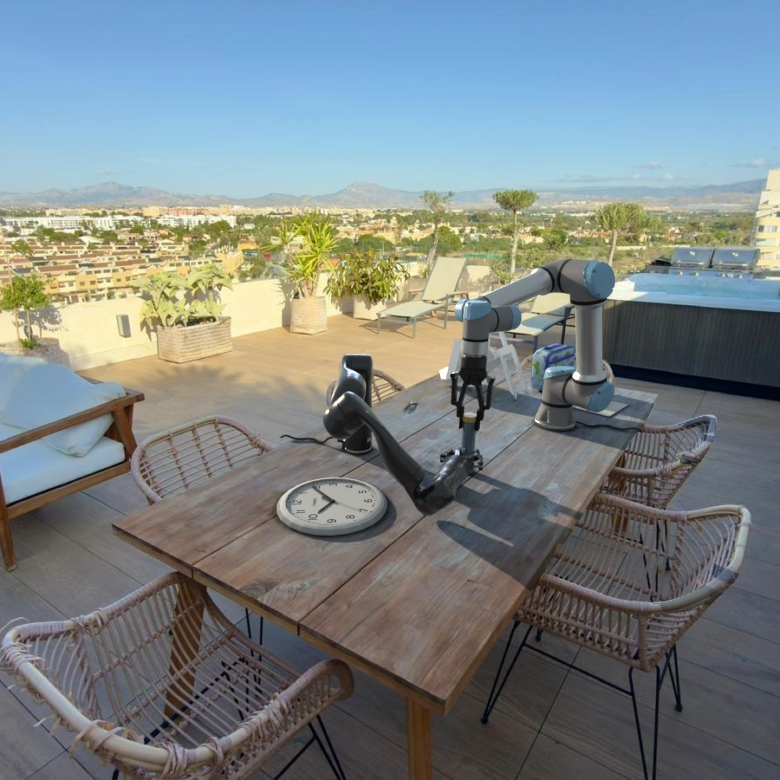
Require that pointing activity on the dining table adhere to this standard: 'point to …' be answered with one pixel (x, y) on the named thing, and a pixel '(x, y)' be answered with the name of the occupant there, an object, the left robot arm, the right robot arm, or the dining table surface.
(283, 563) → the dining table surface
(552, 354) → the lunch box
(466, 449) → the gray cylinder
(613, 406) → the invitation card
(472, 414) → the lid
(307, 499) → the wall clock
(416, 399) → the fork
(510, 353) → the white plastic object
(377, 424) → the left robot arm
